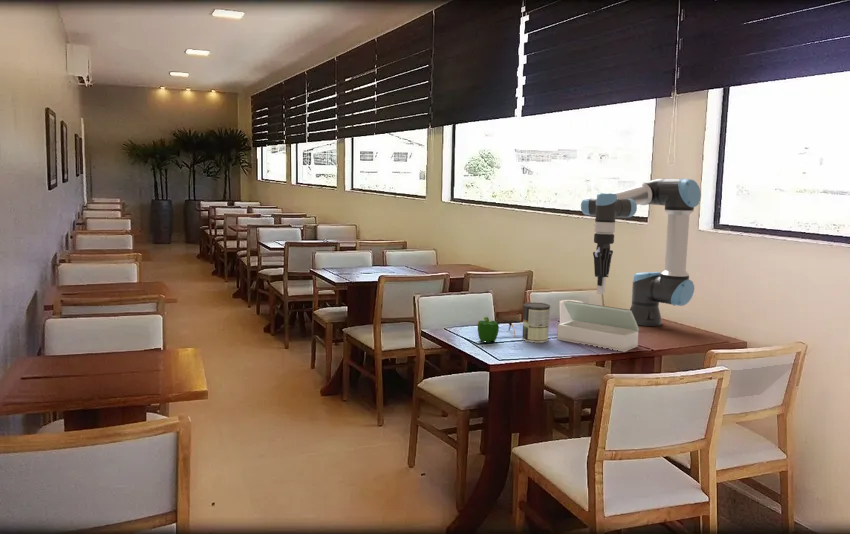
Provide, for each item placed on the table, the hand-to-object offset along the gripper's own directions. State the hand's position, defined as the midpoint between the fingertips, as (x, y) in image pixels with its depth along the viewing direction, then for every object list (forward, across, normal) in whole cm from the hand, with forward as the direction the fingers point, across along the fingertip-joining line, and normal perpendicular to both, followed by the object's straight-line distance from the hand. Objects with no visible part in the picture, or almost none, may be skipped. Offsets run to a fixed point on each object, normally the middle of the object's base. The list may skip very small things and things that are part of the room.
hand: (600, 293), depth 266 cm
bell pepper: (+20, +30, -32) cm, 48 cm away
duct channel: (+19, +1, 0) cm, 19 cm away
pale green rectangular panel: (+9, -1, 0) cm, 9 cm away
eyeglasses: (+20, +16, -37) cm, 45 cm away
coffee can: (+20, +14, -20) cm, 31 cm away
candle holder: (+20, -13, -19) cm, 30 cm away
